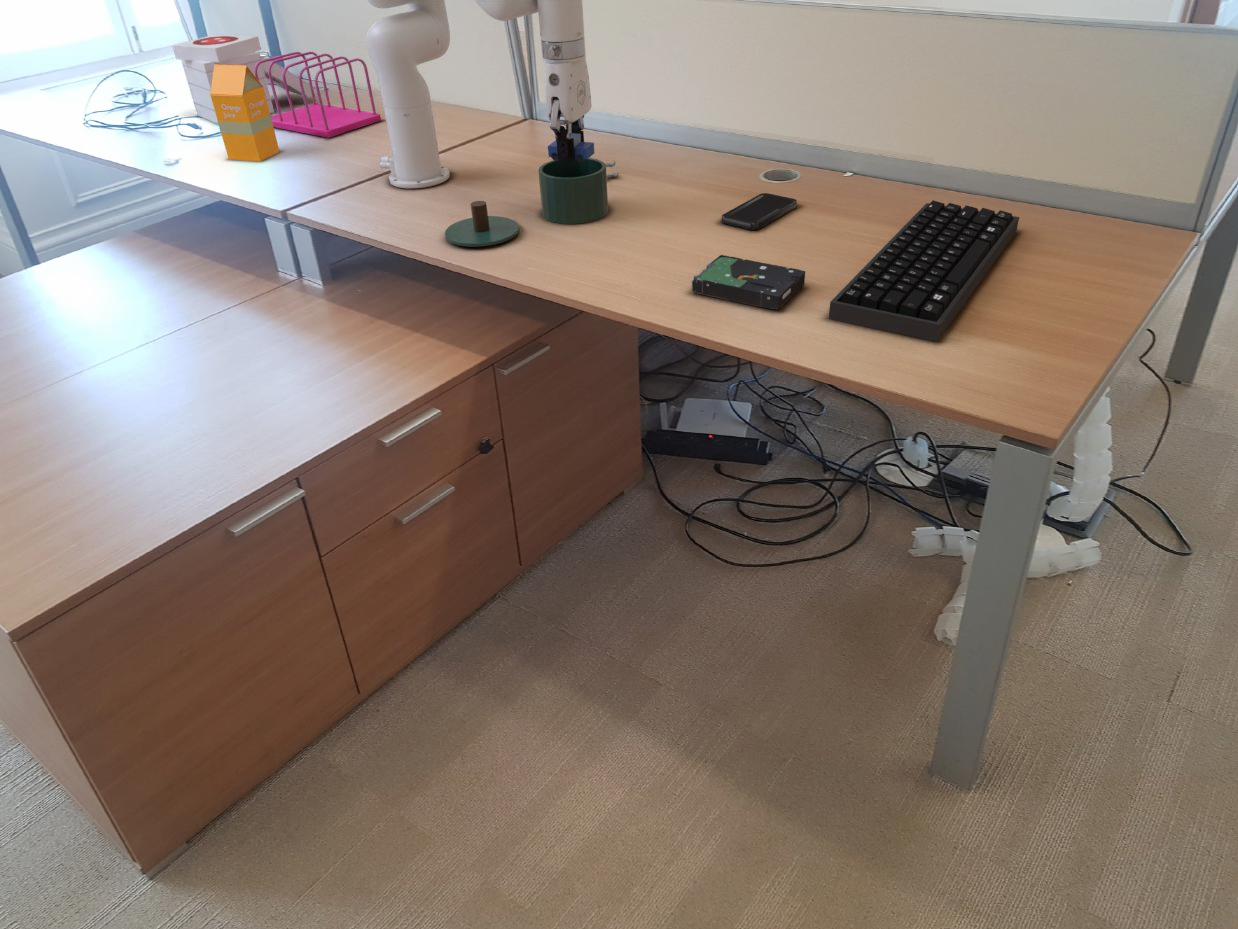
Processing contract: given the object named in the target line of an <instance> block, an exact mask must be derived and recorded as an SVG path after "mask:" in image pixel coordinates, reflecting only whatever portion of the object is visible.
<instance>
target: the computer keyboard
mask: <svg viewBox="0 0 1238 929" xmlns="http://www.w3.org/2000/svg"><path fill="white" fill-rule="evenodd" d="M1019 221H1020V217H1019V216H1015V215H1013V213H1011V212H1007V211H1005V210H1001V209H999V211H998V212H997V213H996V211H995V210H993V209H990V208H985V207H982V208H981V209H980V210H979V208H977V207H974V206H970V205H964V207H963V208H962V205H959V204H955V203H952V202H948V204H946V205H945V203H944V202H941V201H937V200H932V201H931V202H929V203H928V202H926V203H925V204H924V205H923V206H922V207H921V208H920V209H919V210H918V211H917V212H916V213H915V214H914V215H913V216H912V217H911V218H910V220H908V221H907V222H906V223H905V224H904V225H903V226H902V227H901V228H900V230H899V231H897V232H896V233H895V235H894V236H893V237H892V238H891V239H889V241H888V242H887V243H886V244H885V245H884V246H883V247H881V249H880V250H879V251H878V252H877V253H876V254H875V255H874V256H873V258H871V260H869V261H868V262H867V264H865V265H864V266H863V267H862V268H861V270H859V271H858V273H857V274H856V275H855V276H854V277H853V278H852V279H851V280H850V281H849V282H848V283H847V284H846V285H845V286H844V287H843V288H842V289H841V290H840V291H839V292H838V293H837V294H836V295H835V296H834V297H833V298H832V299H831V300H830V302H829V312H828V320H832V321H838V322H843V323H847V324H852V325H856V326H861V327H866V328H870V329H875V330H879V331H883V332H888V333H894V334H897V335H902V336H905V337H912V338H916V339H921V340H925V341H929V342H933V343H934V342H935V343H937V342H938V341H939V340H940V338H941V337H942V336H943V334H944V333H945V332H946V330H947V329H948V327H949V326H950V325H951V323H952V322H953V320H954V319H955V318H956V316H957V315H958V313H959V312H960V311H961V309H962V308H963V306H965V304H966V303H967V301H968V300H969V298H970V297H971V296H972V294H974V291H975V290H976V289H977V287H978V286H979V284H980V283H981V282H982V281H983V279H984V278H985V276H986V275H987V273H988V272H989V270H990V269H991V268H992V266H993V265H994V264H995V262H996V261H997V260H998V258H999V257H1000V256H1001V254H1002V253H1003V251H1004V250H1005V248H1006V247H1007V246H1008V244H1009V243H1010V242H1011V240H1012V239H1013V237H1014V236H1015V235H1016V234H1017V230H1018V227H1019V226H1018V225H1019Z"/></svg>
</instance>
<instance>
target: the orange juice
mask: <svg viewBox="0 0 1238 929" xmlns="http://www.w3.org/2000/svg"><path fill="white" fill-rule="evenodd" d="M210 96H211V99H212V103H213V106H214V110H215V113H216V117H217V120H218V124H217V125H218V128H219V131H220V134H221V138H222V141H223V144H224V149H225V152H226V156H227V158H228V160H229V161H230V160H231V161H244V162H245V161H246V162H257V163H258V162H259V163H260V162H262V161H264V160H266V159H268V158H271V157H272V156H274V155H277V154H278V153H280V147H279V142H278V140H277V139H278V138H277V135H276V132H275V127H273V122H272V118H271V116H272V113H270V111H269V107H268V104H267V100H266V96H265V92H264V88H263V86H262V84H261V83H260V82H259V81H258V79H257V78H256V77H255V76H254V74H253V73H252V72H251V71H250V69H249V68H248V67H247V65H237V64H214V71H213V79H212V86H211V94H210Z"/></svg>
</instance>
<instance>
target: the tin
mask: <svg viewBox="0 0 1238 929" xmlns="http://www.w3.org/2000/svg"><path fill="white" fill-rule="evenodd" d="M605 163H606V162H604V161H602V160H601V159H597V158H593V157H589V158H588V159H587V160H584V161H583V162H578V161H577V159H575V160H574V161H562V160H557V161H554V160H553V159H552V160H550V161H547V162H545V163H543V164H542V165H540V166H539V167H538V180H539V181H538V182H539V193H540V201H541V202H540V203H541V212H542V216H543V218H544V219H545V220H546V221H548V222H551V223H555V224H560V225H581V224H588V223H591V222H595V221H597V220H600V219H602V218H604V217H605V216H606V215H607V214H608V212H609V198H608V197H609V196H608V181H607V179H608V178H607V177H606V174H607V167H606V165H605Z"/></svg>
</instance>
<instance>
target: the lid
mask: <svg viewBox="0 0 1238 929" xmlns="http://www.w3.org/2000/svg"><path fill="white" fill-rule="evenodd" d="M470 211H471V217H469V218H465V219H461V220H459V221H455V222H454V223H452V224H450V225H449V226H448V227H447V228H446V229H445V231H444V237H445V239H446V240H447V242H449V243H451V244H453V245H456V246H460V247H461V246H462V247H469V248H470V247H472V248H473V247H475V248H476V247H477V248H479V247H487V246H493V245H498V244H501V243H505V242H507V241H510V240H511V239H513V238H514V237H516V236H517V235H518V234H519V232H520V224H518V222H517V221H516V220H514V219H512V218H509V217H506V216H499V215H489V212H488V205H487V202H486V201H484V200H475V201H471V202H470Z"/></svg>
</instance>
